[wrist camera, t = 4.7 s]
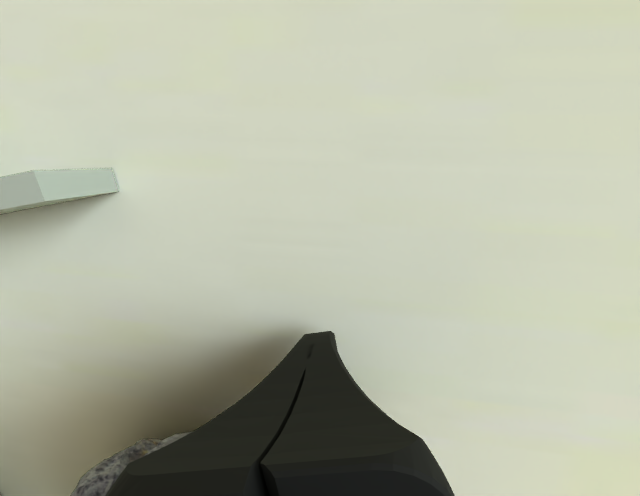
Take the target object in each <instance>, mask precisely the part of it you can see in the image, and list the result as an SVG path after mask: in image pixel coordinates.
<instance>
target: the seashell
mask: <svg viewBox="0 0 640 496" xmlns="http://www.w3.org/2000/svg"><path fill="white" fill-rule="evenodd" d="M194 431H195V430H194ZM189 433H191V432H186V433H181V434H174V435H173V436H170V437H168V438H166V439H163V440H160V439H142V440H140V441H138V442H137V443H136V444H135V445H134V446H130V447H128V448H127V449H125V450H123V451H121V452H119V453H117V454H115V455H113V456H112V457H110V458H109V459H105V460H103V461H102V462H101V463H99V464H98V465H96V466H95V467H93V468H92V469H90V470H89V471H88V472H87V473H86V474H84V475H83V476H82V477H81V479H80V480H79V483H78V485H77V487H76V488H75V490H74V491H73V493H72V494H71V495H70V496H105V495H106V494H107V492H108V491H109V490H110V488H111V487H112V485H113V484H114V483H115V481H116V480H117V478H118V477H119V476H120V474H121V473H122V471H123V470H124V469H125V467H126V466H127V464H128V463H130V462H133V461H135V460H137V459H139V458H141V457H144V456H146V455H148V454H150V453H152V452H154V451H156V450H158V449H160V448H162V447H165V446H167V445H169V444H171V443H173V442H175V441H176V440H178V439H180V438H182V437H184V436H186V435H187V434H189Z"/></svg>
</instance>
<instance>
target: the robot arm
mask: <svg viewBox="0 0 640 496" xmlns="http://www.w3.org/2000/svg"><path fill="white" fill-rule="evenodd" d="M105 496H454V493H453V491H452V489H451V487H450V485H449V483H448V481H447V479H446V477H445V475H444V473H443V471H442V470H441V468H440V466H439V465H438V463H437V461H436V459H435V458H434V456H433V455H432V453H431V451H430V450H429V448H428V447H427V445H426V444H425V442H424V441H423V439H421V438H420V437H419V436H417V435H415V434H414V433H412V432H410V431H409V430H407V429H406V428H404V427H402V426H401V425H399V424H398V423H396V422H395V421H394V420H392V419H391V418H390V417H389V416H387V415H386V414H385V413H384V412H383V411H382V410H381V409H380V408H379V407H378V406H376V405H375V404H374V403H373V402H372V401H371V400H370V399H369V398H368V397H367V396H366V394H365V393H364V392H363V391H362V390H361V389H360V387H359V386H358V385H357V384H356V382H355V381H354V380H353V378H352V377H351V375H350V374H349V372H348V370H347V369H346V367H345V365H344V364H343V362H342V360H341V358H340V356H339V354H338V351H337V346H336V341H335V335H334V333H332V332H331V331H327V332H319V333H311V334H305V335H304V336H303V337H302V338H301V339H300V340H299V342H298V343H297V344H296V345H295V346H294V348H293V349H292V350H291V351H290V352H289V353H288V354H287V356H286V357H285V358H284V359H283V360H282V361H281V362H280V364H279V365H278V366H277V367H276V368H275V369H274V370H273V371H272V372H271V373H270V374H269V375H268V376H267V377H266V378H265V379H264V380H263V381H262V382H261V383H260V384H259V385H257V386H256V387H255V388H254V389H253V390H252V391H251V392H249V393H248V394H247V395H246V396H244V397H243V398H242V399H241V400H239V401H238V402H237V403H236V404H234V405H233V406H231V407H230V408H228V409H227V410H225V411H224V412H223V413H221V414H220V415H218V416H217V417H215V418H214V419H212V420H211V421H209V422H208V423H206V424H205V425H203V426H201V427H200V428H198V429H196V430H195V431H193V432H191V433H189V434H187V435H186V436H184V437H182V438H180V439H178V440H176V441H175V442H173V443H171V444H169V445H167V446H165V447H162V448H160V449H158V450H156V451H154V452H152V453H150V454H148V455H146V456H144V457H141V458H139V459H137V460H135V461H133V462H130V463H128V464H127V466H126V467H125V469H124V470H123V471H122V473H121V474H120V476H119V477H118V478H117V480H116V481H115V483H114V484H113V485H112V487H111V488H110V490H109V491H108V492H107V494H106V495H105Z"/></svg>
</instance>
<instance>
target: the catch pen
mask: <svg viewBox="0 0 640 496" xmlns="http://www.w3.org/2000/svg"><path fill="white" fill-rule="evenodd" d="M114 192H119V189H118V186H117V183H116V180H115V177H114V173H113V170H112V168H100V169H63V170H32V171H27V172H23V173H18V174H13V175H8V176H3V177H0V214H4V213H9V212H14V211H19V210H25V209H30V208H35V207H40V206H46V205H51V204H56V203H61V202H67V201H72V200H77V199H82V198H87V197H93V196H98V195H103V194H108V193H114ZM0 496H1V494H0Z"/></svg>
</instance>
